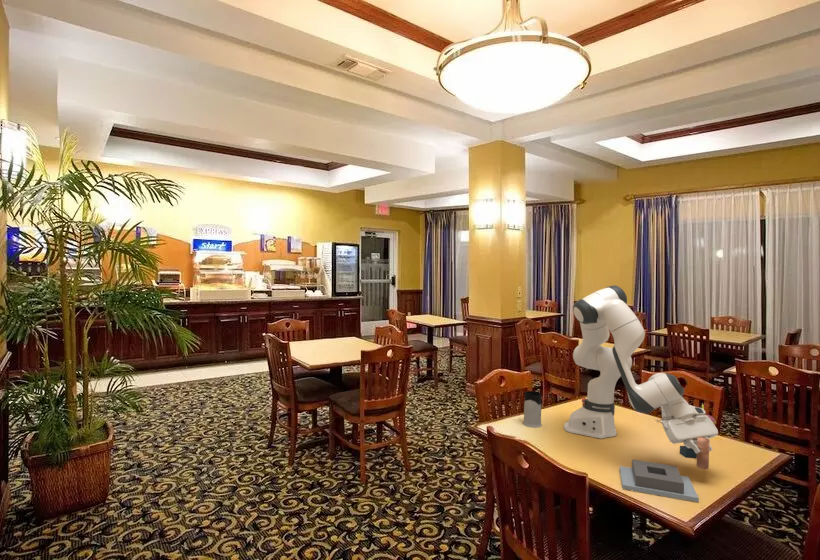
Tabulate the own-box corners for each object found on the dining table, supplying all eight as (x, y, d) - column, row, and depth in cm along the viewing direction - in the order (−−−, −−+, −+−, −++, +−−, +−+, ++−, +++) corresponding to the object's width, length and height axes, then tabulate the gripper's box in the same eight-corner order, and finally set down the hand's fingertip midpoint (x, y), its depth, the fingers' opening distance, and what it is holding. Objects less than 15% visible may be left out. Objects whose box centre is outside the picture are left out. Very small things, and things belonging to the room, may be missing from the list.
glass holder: (520, 425, 214) (521, 393, 213) (529, 417, 226) (530, 387, 225) (538, 429, 209) (539, 396, 209) (547, 420, 221) (547, 390, 221)
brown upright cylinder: (697, 468, 158) (698, 440, 158) (695, 464, 161) (696, 436, 161) (709, 470, 157) (710, 441, 156) (707, 465, 160) (708, 437, 160)
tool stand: (622, 489, 153) (622, 474, 152) (619, 469, 167) (619, 456, 167) (698, 502, 144) (699, 487, 144) (688, 481, 159) (688, 467, 159)
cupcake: (689, 426, 216) (690, 401, 216) (706, 426, 217) (707, 401, 217) (702, 432, 208) (703, 407, 207) (720, 432, 208) (721, 406, 208)
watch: (690, 451, 186) (691, 425, 185) (702, 460, 178) (703, 432, 177) (676, 451, 186) (677, 424, 186) (688, 459, 178) (689, 431, 178)
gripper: (664, 413, 162) (687, 451, 153) (706, 408, 168) (732, 444, 159) (653, 422, 166) (676, 459, 157) (695, 416, 173) (719, 451, 164)
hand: (704, 451), depth 158 cm, fingers closed on brown upright cylinder, 4 cm apart
